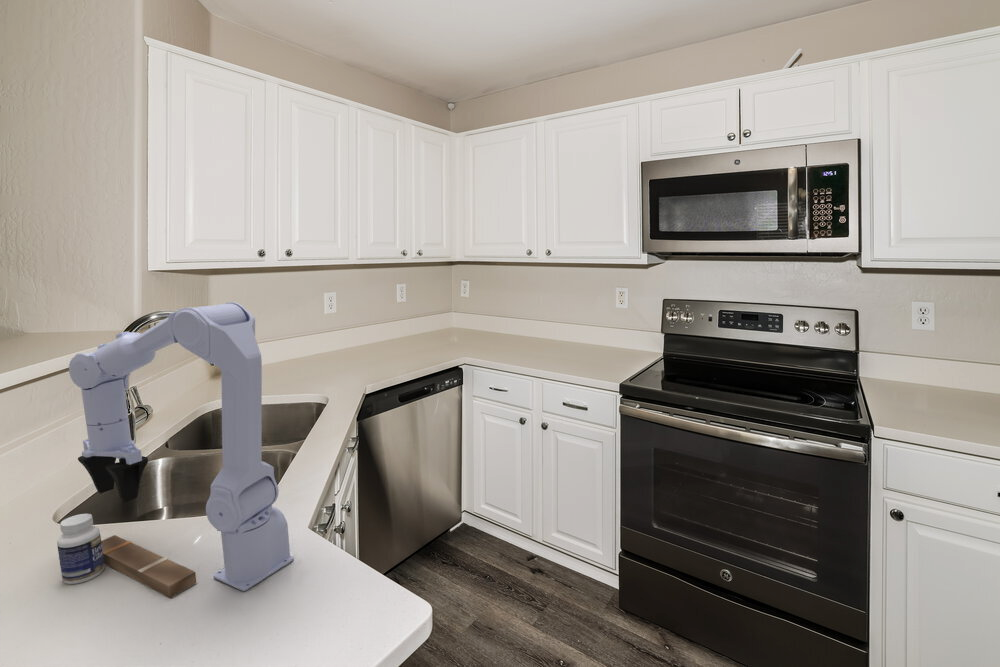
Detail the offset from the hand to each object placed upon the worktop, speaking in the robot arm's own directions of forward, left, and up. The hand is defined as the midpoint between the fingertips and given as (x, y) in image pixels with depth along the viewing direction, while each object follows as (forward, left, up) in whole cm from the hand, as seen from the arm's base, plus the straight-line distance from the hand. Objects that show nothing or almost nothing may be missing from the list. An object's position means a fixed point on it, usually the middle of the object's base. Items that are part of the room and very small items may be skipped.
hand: (117, 495), depth 88 cm
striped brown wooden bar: (+2, +9, -10) cm, 14 cm away
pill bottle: (+7, +2, -11) cm, 13 cm away
